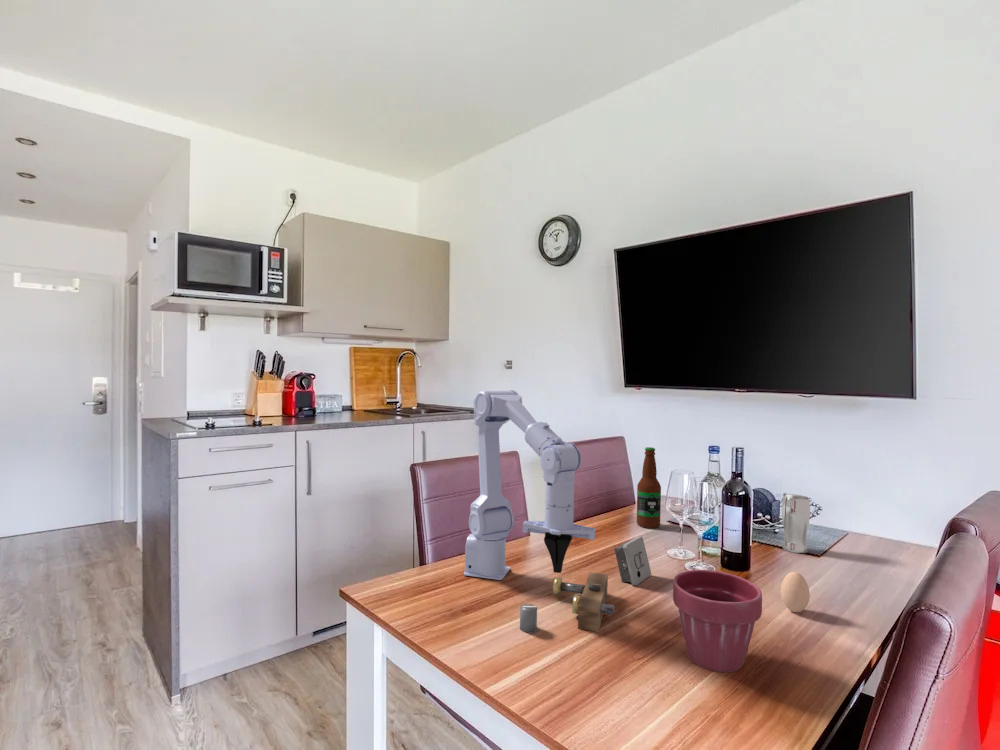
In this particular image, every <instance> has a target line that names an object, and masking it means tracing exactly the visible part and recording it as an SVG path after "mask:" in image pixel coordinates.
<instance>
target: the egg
mask: <svg viewBox="0 0 1000 750" xmlns="http://www.w3.org/2000/svg"><path fill="white" fill-rule="evenodd" d="M810 592H811V591H810V589H809V585H808V583H807V580H806V578H805V577H804V575H802V574H801V573H799V572H797V571H790V572H789V573H787V574H786V576H785V577H784V578H783V580H782V583H781V586H780V598H781V601H782V603H783V604H784V606H785V607H786V608H787V609H788V610H789V611H791V612H793V613H800V612H803V611H805V609H806V608H807V607H808V605H809V603H810V598H811V597H810V596H811V595H810Z"/></svg>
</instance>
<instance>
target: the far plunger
mask: <svg viewBox="0 0 1000 750" xmlns="http://www.w3.org/2000/svg"><path fill="white" fill-rule="evenodd" d="M552 582H553V583H552V594H553V595H560V596H561V595H562V592H564V593H565V592H567V593H574V594H581V595H582V594H583V591H584V588H585V584H580V583H574V582H573V583H571V582H565V581H563V577H556V576H555V577H554V578H553V581H552Z"/></svg>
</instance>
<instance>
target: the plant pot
mask: <svg viewBox="0 0 1000 750" xmlns="http://www.w3.org/2000/svg"><path fill="white" fill-rule="evenodd" d="M672 600H673V603H674V605H675V606H676V607H677V608H678V612H679V618H680V624H681V630H682V635H683V640H684V644H685V649H686V655H687V656H688V658H689V659H690V660H691V661H692V662H693V663H694V664H696V665H697V666H699V667H702V668H703V669H707V670H709V671H713V672H718V673H719V672H720V673H732V672H736V671H739V670H740V669H742V668H743V667H744V663H745V660H746V656H747V653H748V650H749V646H750V642H751V639H752V635H753V631H754V627H755V624H756V622H757V621H759V620H760V619H761V617H762V614H763V612H762V611H763V594H762V590H761V589H760V588H759V586H757V585H756V584H755V583H753V582H752V581H750V580H748V579H746V578H744V577H741V576H738V575H735V574H733V573H732V574H731V573H729V572H724V571H717V570H709V569H691V570H686V571H682V572H679V573H678V574H676V575H675V576H674V578H673V580H672Z"/></svg>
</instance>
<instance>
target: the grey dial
mask: <svg viewBox="0 0 1000 750" xmlns="http://www.w3.org/2000/svg"><path fill="white" fill-rule="evenodd" d="M519 610H520V611H519V630H520V631H521V632H523V633H529V634H530V633H535V632H537V626H538V624H537V623H538V606H537V605H535V604H531V603H525V604H524V603H523V604H522V605H520V607H519Z"/></svg>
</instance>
